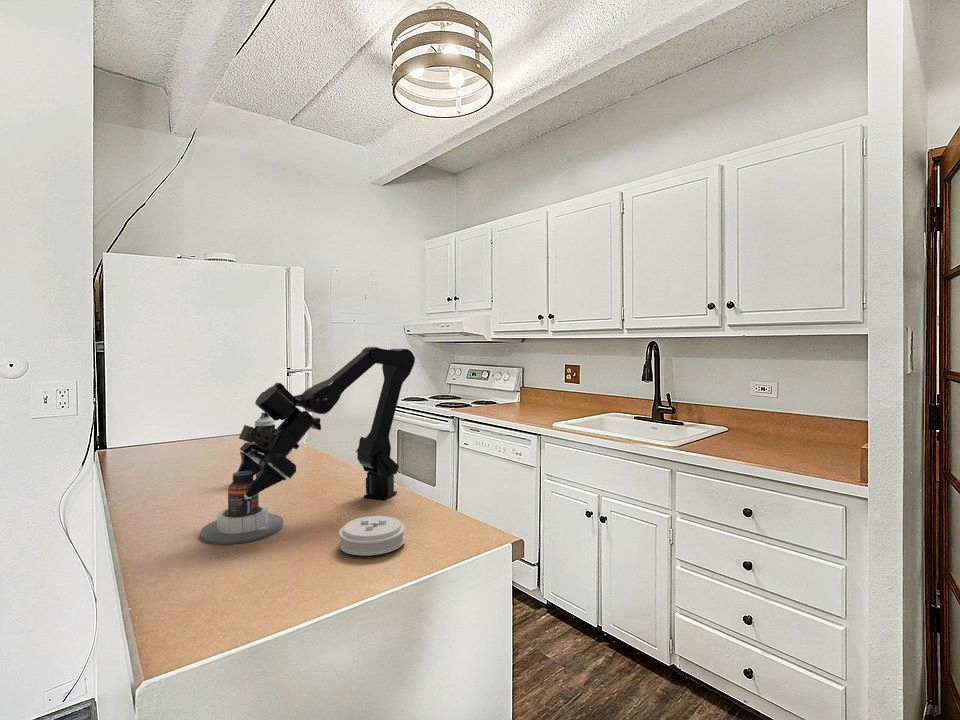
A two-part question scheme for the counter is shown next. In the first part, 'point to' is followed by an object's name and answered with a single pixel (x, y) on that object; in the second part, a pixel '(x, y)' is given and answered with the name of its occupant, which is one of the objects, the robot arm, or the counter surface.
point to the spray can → (264, 424)
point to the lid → (371, 535)
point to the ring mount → (241, 527)
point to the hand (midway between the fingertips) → (239, 491)
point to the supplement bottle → (242, 496)
